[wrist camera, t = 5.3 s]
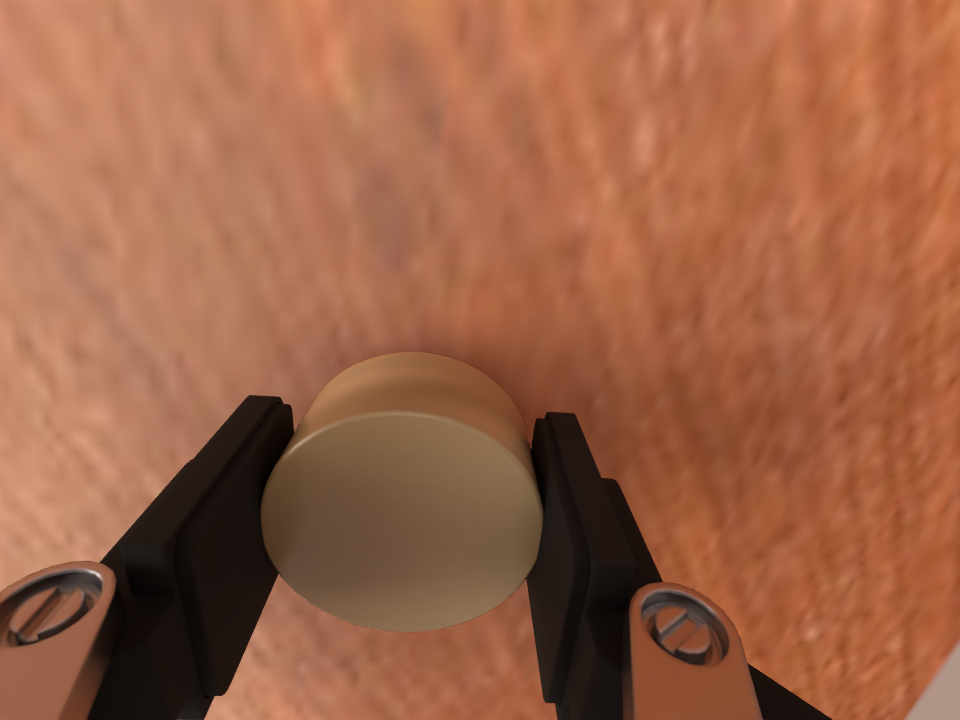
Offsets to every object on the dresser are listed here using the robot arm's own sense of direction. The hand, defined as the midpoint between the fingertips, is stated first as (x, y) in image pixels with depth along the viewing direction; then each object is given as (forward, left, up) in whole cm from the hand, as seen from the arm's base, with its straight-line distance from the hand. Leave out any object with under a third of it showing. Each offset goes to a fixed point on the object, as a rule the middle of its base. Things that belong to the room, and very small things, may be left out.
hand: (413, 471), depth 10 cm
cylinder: (0, 0, -1) cm, 1 cm away
